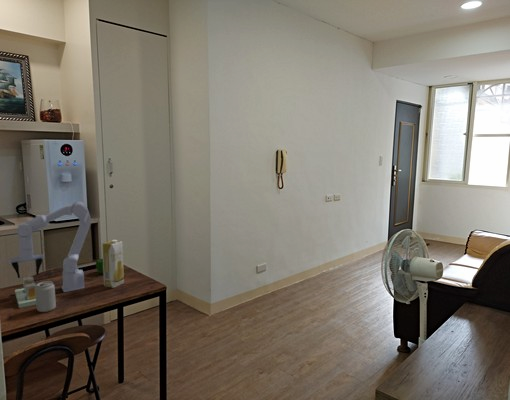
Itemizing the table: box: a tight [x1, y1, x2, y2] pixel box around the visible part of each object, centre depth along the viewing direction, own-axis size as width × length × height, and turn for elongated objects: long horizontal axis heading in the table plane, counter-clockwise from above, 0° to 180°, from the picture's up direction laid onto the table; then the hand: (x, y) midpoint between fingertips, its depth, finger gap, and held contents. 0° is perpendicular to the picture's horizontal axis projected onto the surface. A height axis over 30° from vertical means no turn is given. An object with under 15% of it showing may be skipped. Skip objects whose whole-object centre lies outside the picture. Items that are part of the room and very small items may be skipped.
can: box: [35, 280, 57, 313], centre depth 165 cm, size 8×8×12 cm
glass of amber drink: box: [25, 282, 37, 300], centre depth 173 cm, size 4×4×8 cm
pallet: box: [14, 285, 37, 309], centre depth 177 cm, size 11×20×2 cm, turn 37°
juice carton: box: [101, 239, 125, 289], centre depth 194 cm, size 9×8×24 cm
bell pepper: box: [95, 257, 103, 275], centre depth 213 cm, size 8×8×10 cm
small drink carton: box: [22, 276, 35, 293], centre depth 181 cm, size 4×4×8 cm
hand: (28, 275), depth 180 cm, fingers open, 7 cm apart
